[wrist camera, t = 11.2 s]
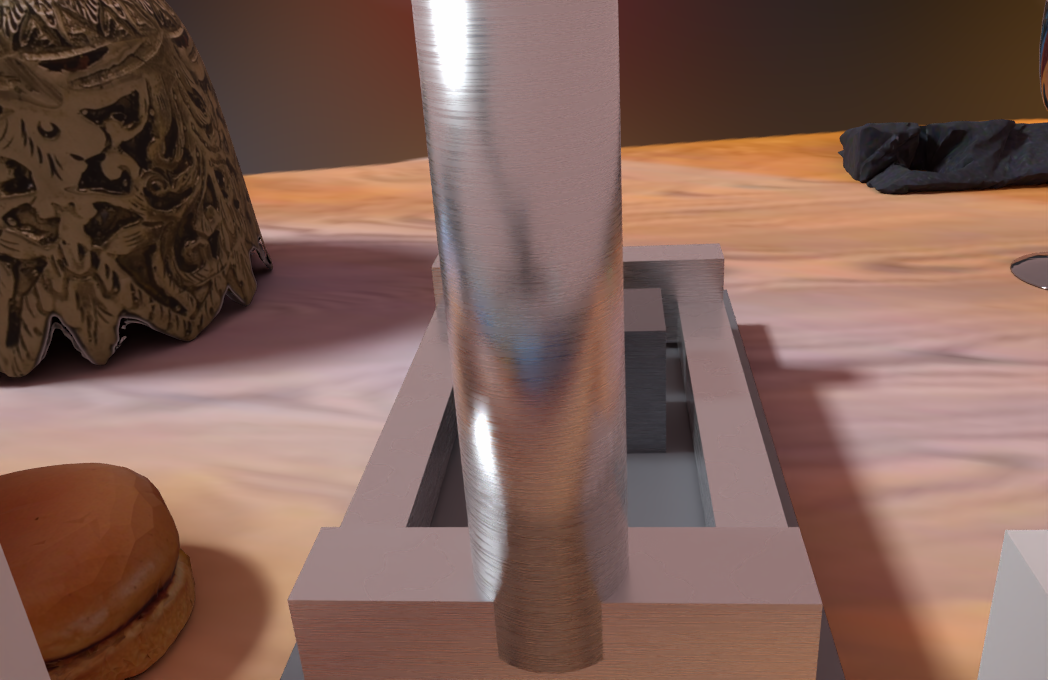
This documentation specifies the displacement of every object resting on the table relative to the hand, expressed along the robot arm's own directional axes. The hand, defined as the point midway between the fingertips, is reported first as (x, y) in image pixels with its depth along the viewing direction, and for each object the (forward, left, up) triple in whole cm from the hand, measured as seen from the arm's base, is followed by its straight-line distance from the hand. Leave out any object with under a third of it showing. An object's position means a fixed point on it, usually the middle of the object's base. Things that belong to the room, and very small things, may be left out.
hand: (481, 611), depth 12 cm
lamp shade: (-32, +42, -12) cm, 54 cm away
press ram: (0, +19, -10) cm, 21 cm away
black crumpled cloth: (+31, +66, -13) cm, 74 cm away
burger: (-17, +13, -12) cm, 25 cm away
